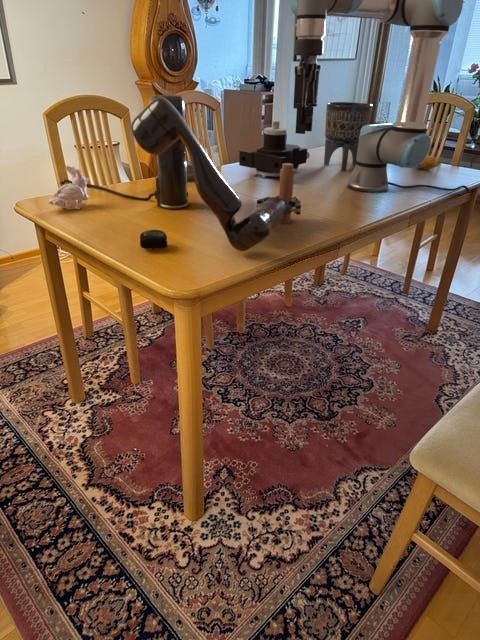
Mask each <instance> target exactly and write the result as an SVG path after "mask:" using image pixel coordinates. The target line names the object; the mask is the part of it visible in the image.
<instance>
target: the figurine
mask: <svg viewBox="0 0 480 640" xmlns="http://www.w3.org/2000/svg"><path fill="white" fill-rule="evenodd" d="M65 170H66V171H67V172H68V173H69V174H70V175H71V179H72V180H71V181H72V183H64V184H62V186H61V187H59V188H58V189H57V190H56V192H55V193H54V194H53V195H52V198H50V199H49V200H47V203H48V205H51V206H53V205H55V206H56V207H58V208H61V209H63V208H64V209H66V210H80V207H78V205H82V204H84V202H83V201H88V200H89V199H90V198H89V195H88V193H87V192H88V189H87V188H86V187H87V186H86V184H88V182H89V181H90V180H89V179H90V178H89V177H86V176H84V175H82V172H81V170H80V169H79V168H76V167H75V166H74V165H73V166H70V165H66V166H65Z"/></svg>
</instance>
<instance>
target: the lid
mask: <svg viewBox="0 0 480 640" xmlns="http://www.w3.org/2000/svg"><path fill="white" fill-rule="evenodd" d="M312 117H313V118H312ZM313 120H314V115H313V116H312V115H306V123H312V124H313Z"/></svg>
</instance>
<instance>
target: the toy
mask: <svg viewBox="0 0 480 640" xmlns="http://www.w3.org/2000/svg"><path fill="white" fill-rule="evenodd" d="M439 166H440V161H438V160H435V158H434V156H432V155H429V154H427V156H426V158H425V159H424V160H423V161H422V163H421V164H420V165H418V166H417V167H418V168H421V169H424V170H431V169H435V168H437V167H439Z"/></svg>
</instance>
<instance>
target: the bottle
mask: <svg viewBox="0 0 480 640" xmlns="http://www.w3.org/2000/svg"><path fill="white" fill-rule="evenodd" d="M282 165H283V166H282V168H281V171H280V176H279V189H278V196H279V198H280V199H282V200H283V201H284V200H287V199H288V200H291V199H292V198H293V194H294V193H293V192H294V182H295V181H294V179H295V172H294V169H293V164H291V163H284V164H282ZM291 218H292V212H291V213H290V214H287V216H286V218H285V219H284V220H283V221H282V222H281V223H280V224H288V223H291V220H292V219H291Z"/></svg>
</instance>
